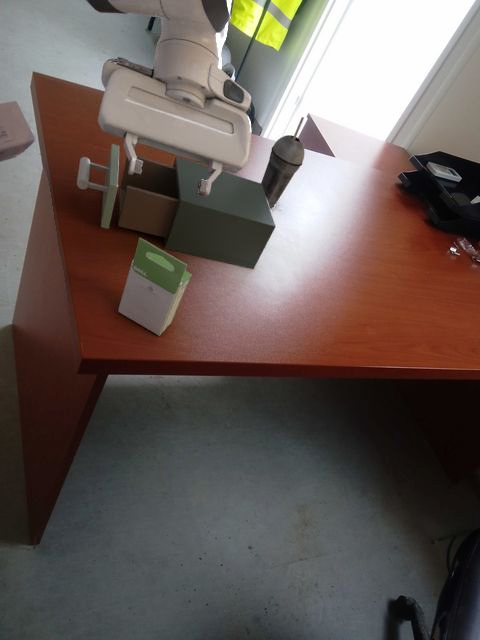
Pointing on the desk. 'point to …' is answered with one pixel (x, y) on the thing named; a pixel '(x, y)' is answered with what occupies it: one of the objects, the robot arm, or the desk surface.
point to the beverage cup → (282, 165)
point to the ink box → (153, 287)
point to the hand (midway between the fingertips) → (169, 185)
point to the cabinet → (219, 217)
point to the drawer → (136, 193)
